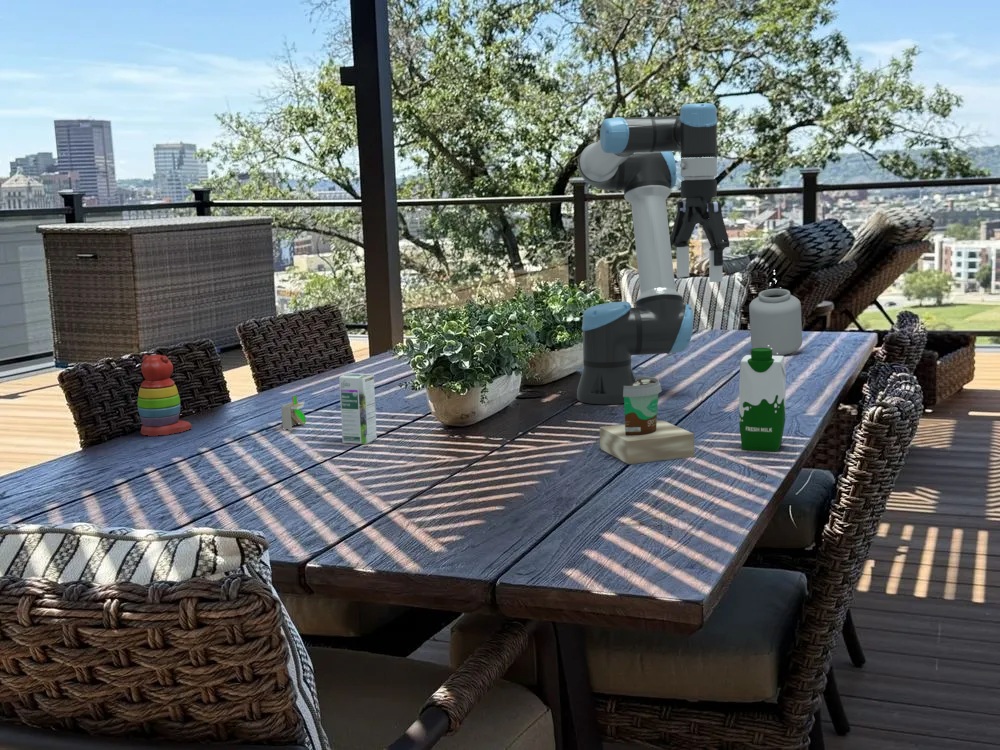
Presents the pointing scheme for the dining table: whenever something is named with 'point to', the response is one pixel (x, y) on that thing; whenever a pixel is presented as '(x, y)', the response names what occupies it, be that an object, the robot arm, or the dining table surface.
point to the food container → (641, 405)
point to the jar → (776, 321)
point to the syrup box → (357, 408)
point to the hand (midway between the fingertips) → (699, 279)
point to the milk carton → (762, 400)
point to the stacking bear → (159, 398)
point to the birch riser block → (647, 443)
